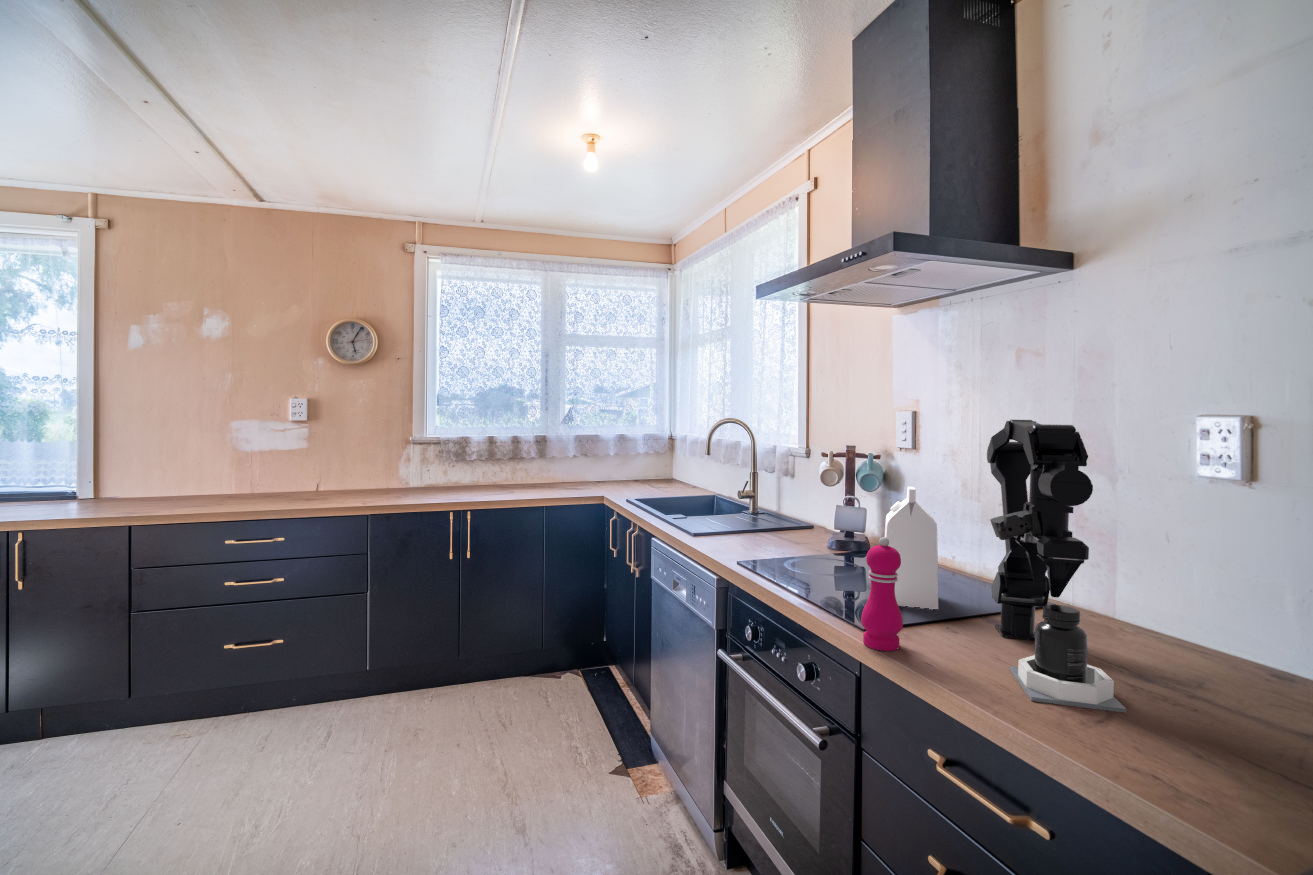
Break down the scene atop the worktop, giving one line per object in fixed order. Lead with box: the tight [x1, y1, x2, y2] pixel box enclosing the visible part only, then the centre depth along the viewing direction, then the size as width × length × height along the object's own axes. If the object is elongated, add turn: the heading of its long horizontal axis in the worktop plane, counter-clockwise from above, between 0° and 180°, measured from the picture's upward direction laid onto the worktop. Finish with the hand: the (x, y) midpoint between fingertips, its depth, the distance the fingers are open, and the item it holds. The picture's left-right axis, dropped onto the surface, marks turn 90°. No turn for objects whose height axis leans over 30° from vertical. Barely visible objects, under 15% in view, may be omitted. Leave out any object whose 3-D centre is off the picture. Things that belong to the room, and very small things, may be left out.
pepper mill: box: [860, 536, 904, 652], centre depth 113 cm, size 7×7×20 cm
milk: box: [884, 486, 939, 610], centre depth 142 cm, size 12×12×26 cm
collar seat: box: [1009, 654, 1127, 713], centre depth 95 cm, size 12×12×3 cm
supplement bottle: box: [1034, 604, 1088, 684], centre depth 96 cm, size 7×7×12 cm
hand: (1045, 589), depth 105 cm, fingers open, 9 cm apart
